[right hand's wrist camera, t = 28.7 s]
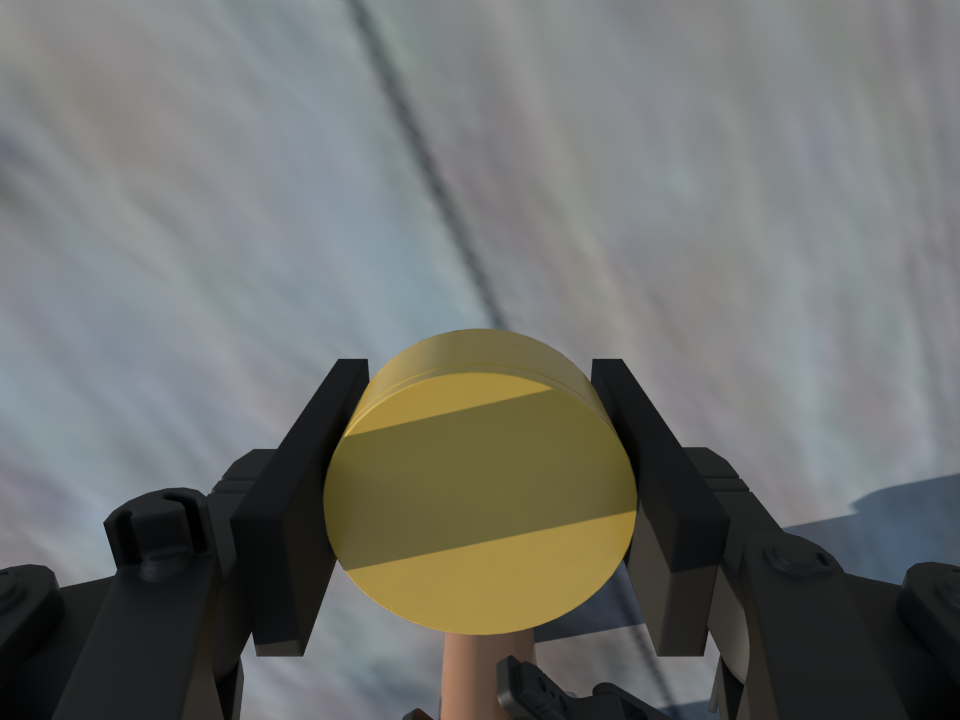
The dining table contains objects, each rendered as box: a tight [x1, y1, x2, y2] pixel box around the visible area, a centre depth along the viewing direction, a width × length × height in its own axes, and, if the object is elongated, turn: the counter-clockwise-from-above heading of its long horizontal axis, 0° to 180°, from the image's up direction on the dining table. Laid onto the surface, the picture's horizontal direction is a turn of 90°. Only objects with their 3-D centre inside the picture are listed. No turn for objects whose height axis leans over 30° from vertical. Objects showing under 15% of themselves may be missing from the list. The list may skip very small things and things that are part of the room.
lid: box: [323, 329, 638, 635], centre depth 11 cm, size 6×6×2 cm
